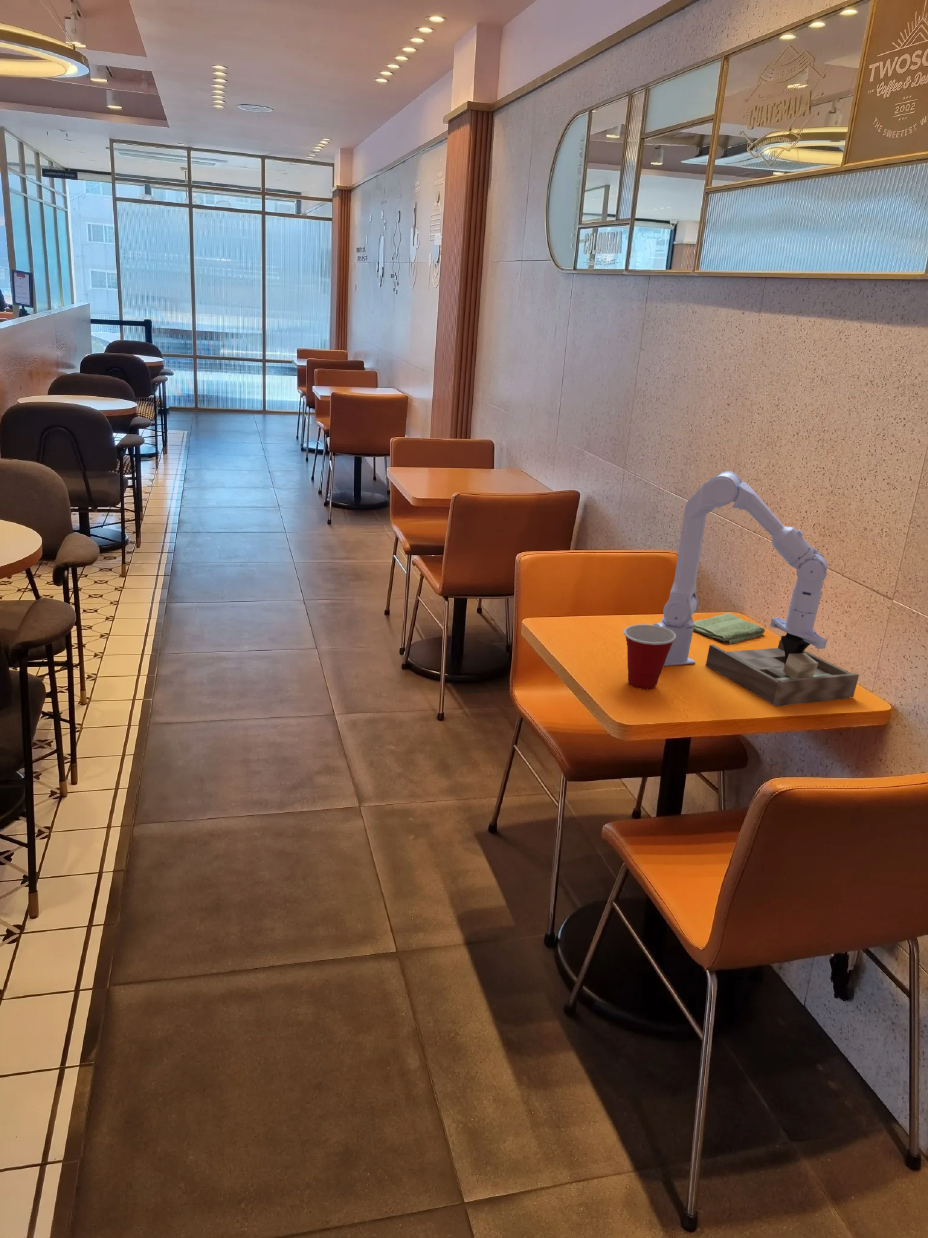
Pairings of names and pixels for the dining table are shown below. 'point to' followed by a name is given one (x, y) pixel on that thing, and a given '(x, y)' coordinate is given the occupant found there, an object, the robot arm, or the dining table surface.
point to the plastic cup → (647, 653)
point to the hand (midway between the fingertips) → (789, 668)
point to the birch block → (800, 666)
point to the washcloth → (728, 628)
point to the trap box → (781, 676)
